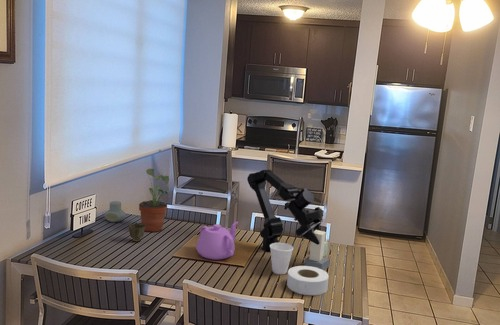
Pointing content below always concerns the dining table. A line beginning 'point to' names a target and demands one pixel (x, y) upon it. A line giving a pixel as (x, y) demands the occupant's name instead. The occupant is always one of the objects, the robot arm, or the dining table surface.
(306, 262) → the base block
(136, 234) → the cup
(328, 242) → the sage block
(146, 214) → the potted plant
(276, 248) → the cup
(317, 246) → the cream block
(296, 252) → the dining table surface
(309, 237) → the robot arm
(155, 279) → the dining table surface
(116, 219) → the air freshener
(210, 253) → the teapot
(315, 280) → the roll of tape
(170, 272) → the dining table surface
